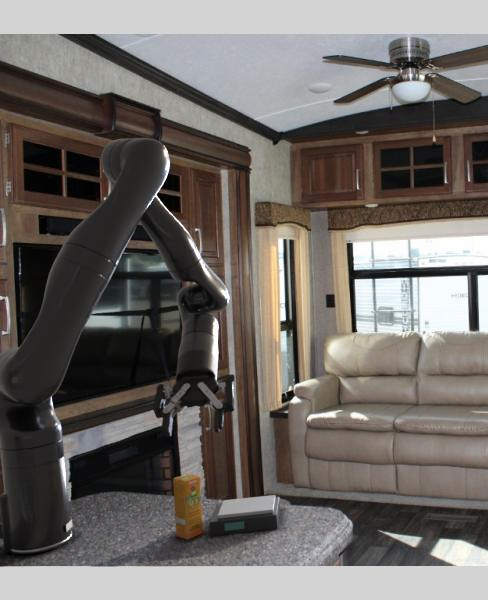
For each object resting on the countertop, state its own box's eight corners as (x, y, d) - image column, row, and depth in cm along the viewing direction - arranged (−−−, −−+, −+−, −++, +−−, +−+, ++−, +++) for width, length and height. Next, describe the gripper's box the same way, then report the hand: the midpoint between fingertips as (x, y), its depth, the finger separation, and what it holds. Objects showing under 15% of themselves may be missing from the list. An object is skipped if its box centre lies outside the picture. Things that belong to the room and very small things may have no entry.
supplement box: (188, 540, 110) (183, 481, 110) (175, 536, 112) (171, 477, 112) (205, 533, 113) (200, 475, 112) (192, 529, 115) (188, 472, 114)
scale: (210, 536, 111) (208, 519, 111) (218, 516, 120) (216, 500, 120) (277, 529, 113) (276, 511, 113) (280, 509, 122) (278, 493, 122)
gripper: (156, 351, 127) (146, 425, 117) (232, 345, 129) (230, 417, 119) (164, 374, 133) (156, 447, 122) (237, 368, 135) (235, 439, 124)
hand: (192, 432), depth 120 cm, fingers open, 8 cm apart
